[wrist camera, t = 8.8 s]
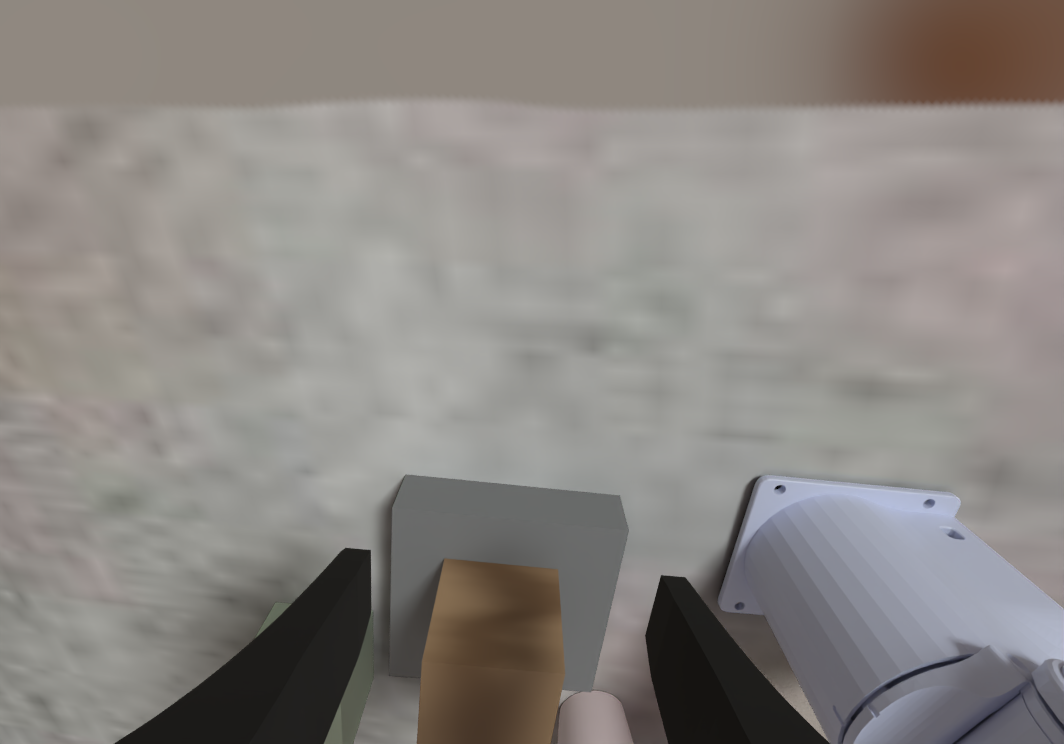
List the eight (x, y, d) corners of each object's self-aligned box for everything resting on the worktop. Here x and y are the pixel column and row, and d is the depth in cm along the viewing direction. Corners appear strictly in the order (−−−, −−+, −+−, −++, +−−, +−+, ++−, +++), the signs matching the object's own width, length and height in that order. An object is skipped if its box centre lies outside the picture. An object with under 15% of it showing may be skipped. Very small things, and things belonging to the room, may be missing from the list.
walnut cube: (558, 569, 23) (565, 674, 18) (543, 650, 25) (545, 764, 20) (444, 558, 22) (421, 661, 18) (438, 641, 24) (416, 754, 20)
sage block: (373, 608, 27) (340, 701, 22) (373, 676, 29) (343, 774, 24) (276, 600, 27) (222, 692, 22) (283, 669, 29) (235, 767, 24)
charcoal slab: (618, 489, 25) (629, 530, 22) (585, 640, 28) (591, 692, 26) (408, 467, 24) (392, 507, 21) (403, 624, 28) (389, 675, 25)
